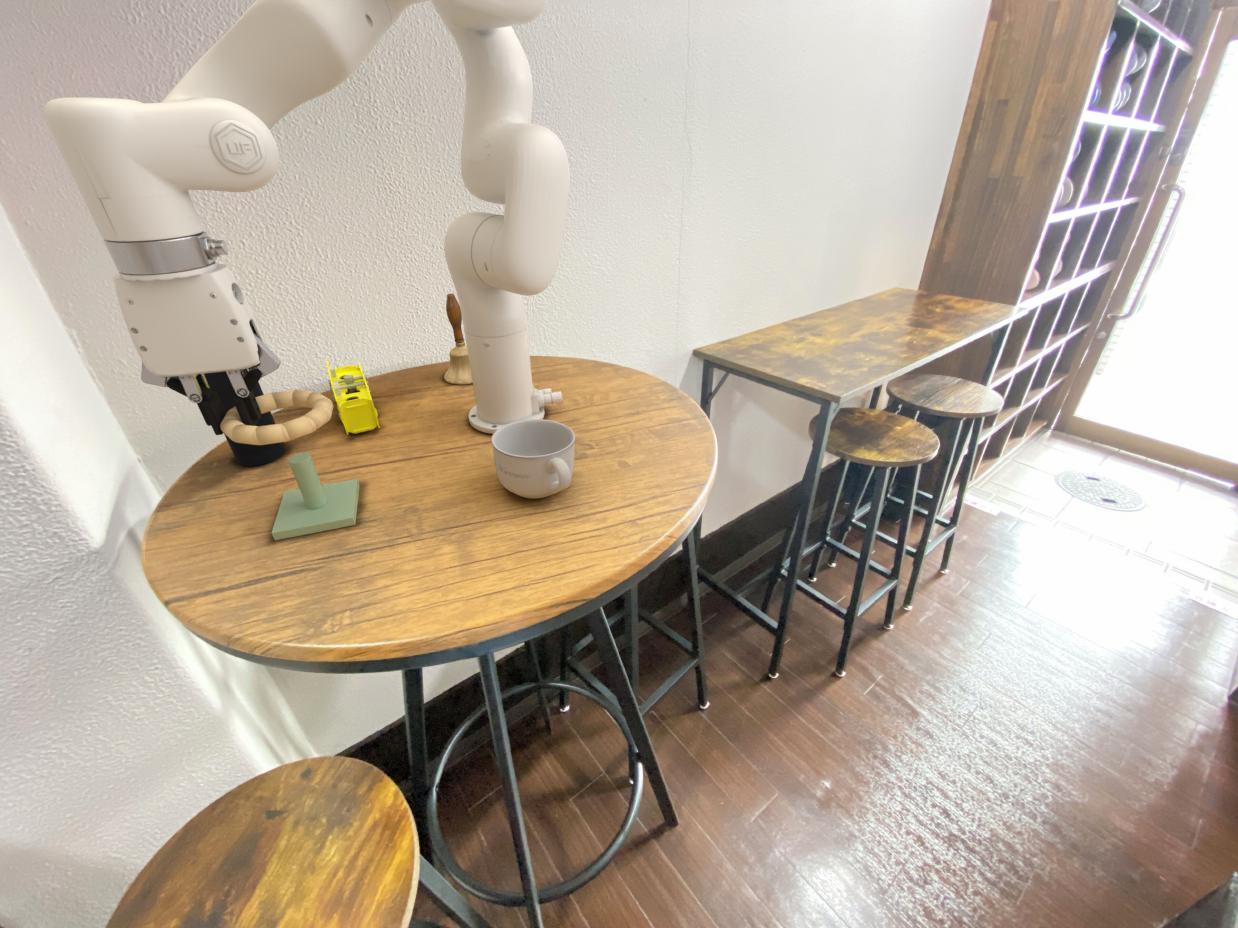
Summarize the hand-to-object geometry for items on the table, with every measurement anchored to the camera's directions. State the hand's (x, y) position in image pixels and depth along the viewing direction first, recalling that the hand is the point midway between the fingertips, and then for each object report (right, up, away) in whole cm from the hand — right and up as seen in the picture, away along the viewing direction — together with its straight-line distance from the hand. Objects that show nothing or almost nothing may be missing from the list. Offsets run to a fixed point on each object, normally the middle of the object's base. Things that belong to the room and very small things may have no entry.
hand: (237, 426), depth 60 cm
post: (+4, -10, +9) cm, 14 cm away
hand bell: (+13, +13, +45) cm, 49 cm away
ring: (+4, +1, +1) cm, 4 cm away
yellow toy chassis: (-1, +4, +31) cm, 31 cm away
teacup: (+33, -8, +12) cm, 36 cm away
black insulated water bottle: (-11, -3, +20) cm, 23 cm away
